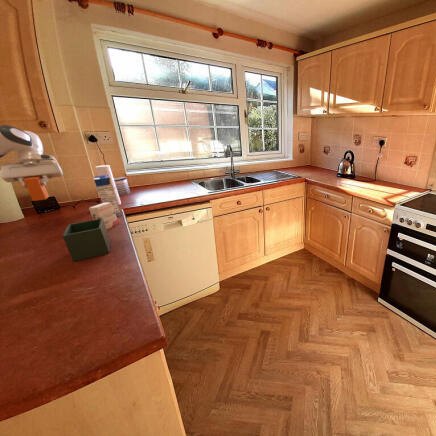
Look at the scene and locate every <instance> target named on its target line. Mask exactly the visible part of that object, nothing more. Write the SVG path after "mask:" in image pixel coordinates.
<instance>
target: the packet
mask: <svg viewBox="0 0 436 436" xmlns="http://www.w3.org/2000/svg"><path fill="white" fill-rule="evenodd" d="M42 180H43V179H42V178H41V176H35V177H27V178H25V179H24V183H25V184H26V187H27V188H26V189H27V191H28V193H29V196H30V198H31V199H32V201H33V202H35V201H36V202H37V201H43V200H47V199H48V198H49V197H50V195H49V193H48V190H47V188H46V185H44V186H42V185H41V184H40V183H41V182H40V181H42Z"/></svg>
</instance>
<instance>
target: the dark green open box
mask: <svg viewBox="0 0 436 436" xmlns="http://www.w3.org/2000/svg"><path fill="white" fill-rule="evenodd" d="M62 238H63V241H64V244H65V246H66V248H67V250H68V254H69V255H70V258H71V260H72V262H73V263H74V262H78V261H82V260H86V259H90V258H95V257H99V256H103V255H107V254H110V250H111V241H112V240H111V238H110V235H109V232H108V229H106V226H105V223H104V220H103V218H101V219H95V220H93V219H90V220H85V221H84V220H83V221H79V222H74V223H70V224H68V225H67V226H66V228H65V230H64V232H63V234H62Z"/></svg>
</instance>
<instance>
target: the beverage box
mask: <svg viewBox="0 0 436 436" xmlns="http://www.w3.org/2000/svg"><path fill="white" fill-rule="evenodd" d="M93 181H94V185H95V187H96V190H97V192H98V196H99V199H100V201H101V204H102V203H106V202H109V203H112V206H113V209H114V211H115V214H116V217H117V218H118V217H122V216H123V215H122V212H121V209H120V205H118V202H117V199H116V196H115V192H114V189H113V186H112V183H111V180H110V177H109V175H103V176H98V175H96V176H93Z"/></svg>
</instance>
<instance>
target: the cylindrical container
mask: <svg viewBox="0 0 436 436" xmlns="http://www.w3.org/2000/svg"><path fill="white" fill-rule="evenodd" d="M95 171H96V173H97V176H103V175H109V177H110V180H111V183H112V186H113V189H114V192H115V196H116V199H117V202H118V205H119V206H120V205H122V201H121V198H120V196H119V195H118V191H117V188H116V185H115V182H114V179H115V178H114V176H113V172H112V169H111V166H110V165H109V164H103V165H96V166H95Z"/></svg>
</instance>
